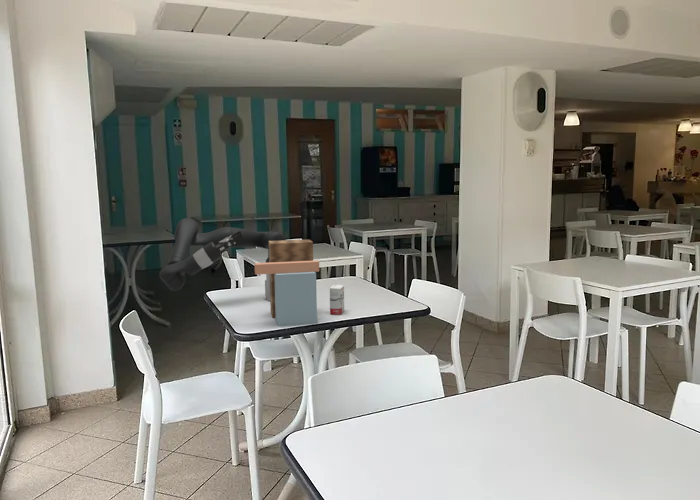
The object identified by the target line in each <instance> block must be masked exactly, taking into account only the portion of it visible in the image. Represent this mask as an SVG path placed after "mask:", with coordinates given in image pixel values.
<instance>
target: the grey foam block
mask: <svg viewBox="0 0 700 500" xmlns="http://www.w3.org/2000/svg"><path fill="white" fill-rule="evenodd" d="M274 279H275V314H276V318H275V322H276V324H277V327H284V326H296V325H298V326H299V325H312V324H317V323H318V307H317V306H318V303H317V300H318V299H317V294H318V293H317V272H298V273H278V274H274Z"/></svg>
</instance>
